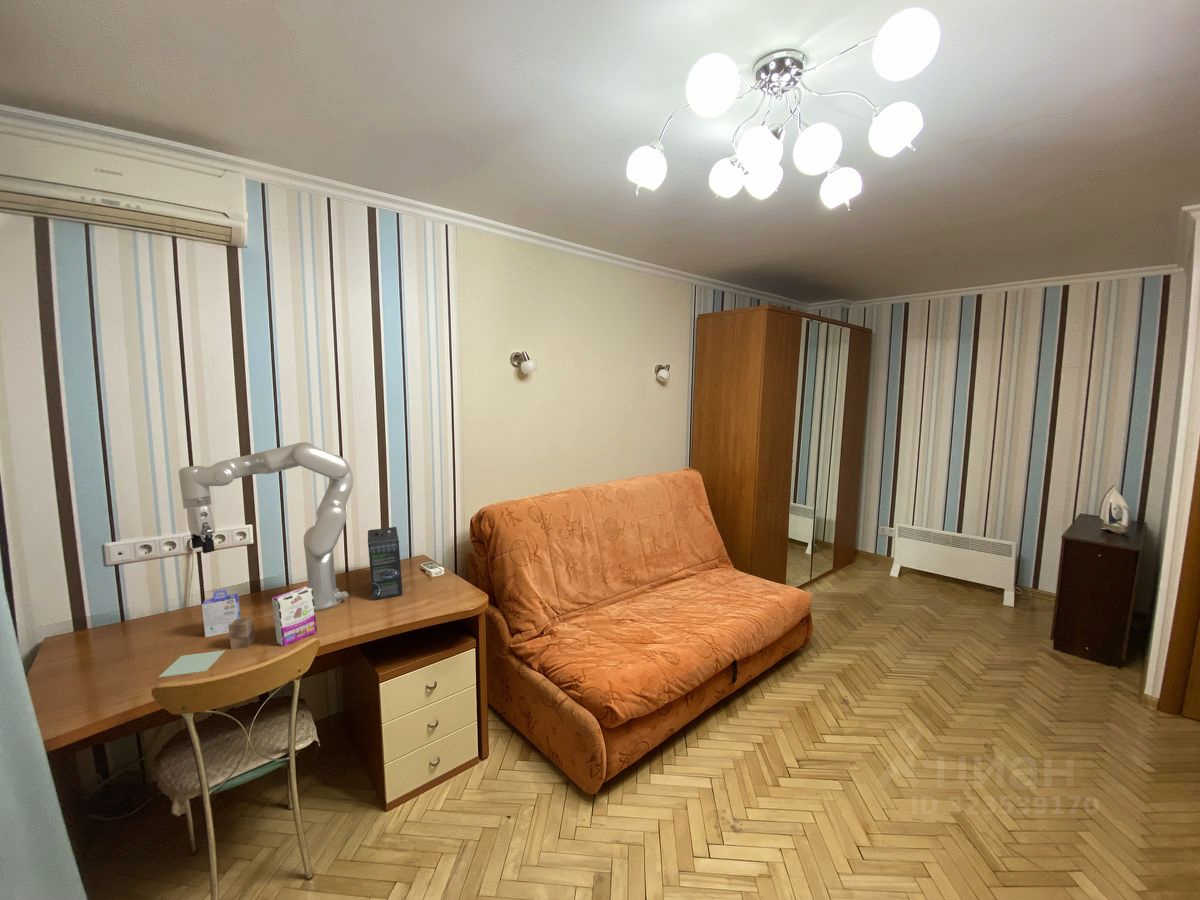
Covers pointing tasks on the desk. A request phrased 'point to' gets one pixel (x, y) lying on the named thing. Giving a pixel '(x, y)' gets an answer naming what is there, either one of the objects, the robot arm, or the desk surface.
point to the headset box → (384, 563)
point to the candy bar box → (294, 615)
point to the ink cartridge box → (220, 613)
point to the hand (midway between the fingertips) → (203, 549)
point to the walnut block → (241, 633)
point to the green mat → (192, 663)
